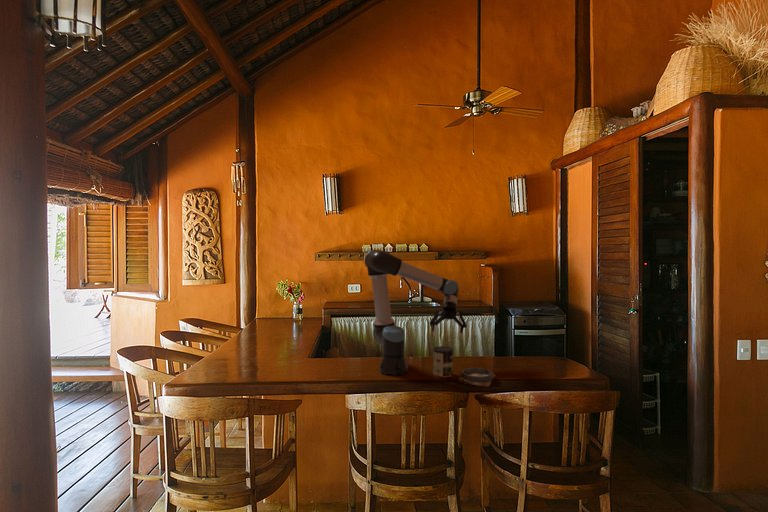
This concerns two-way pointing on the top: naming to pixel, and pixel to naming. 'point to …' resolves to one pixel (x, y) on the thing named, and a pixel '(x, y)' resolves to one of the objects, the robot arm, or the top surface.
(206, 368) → the top surface
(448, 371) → the coffee can
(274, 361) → the top surface
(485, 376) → the collar board
